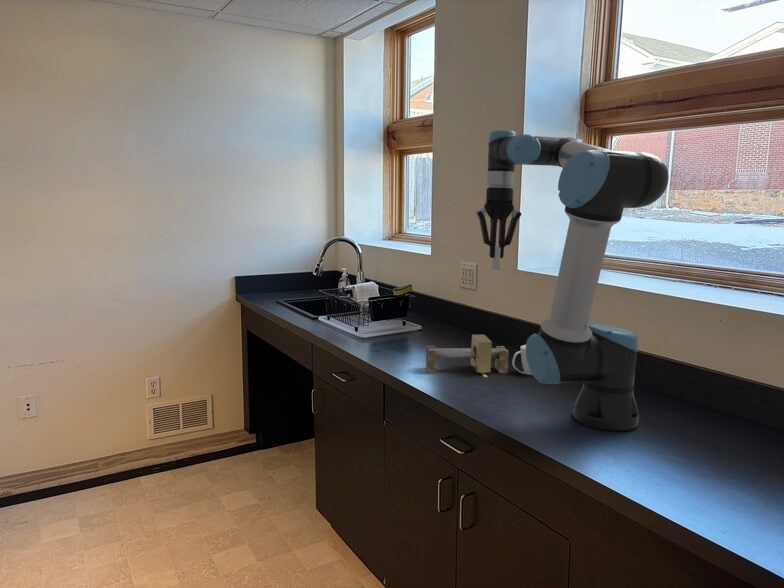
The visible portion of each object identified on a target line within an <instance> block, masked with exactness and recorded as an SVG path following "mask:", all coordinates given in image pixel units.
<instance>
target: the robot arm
mask: <svg viewBox="0 0 784 588" xmlns="http://www.w3.org/2000/svg"><path fill="white" fill-rule="evenodd" d="M487 145H488V146H487V147H488V154H487V178H486V180H487V181H486V186H488V187H487V188H486V197H485V204H484V205H483V208H482V209H480V210H477V211H476V213H475V214H476V216H477V218H478V220H479V225H480V231H481V236H482V241H483V244H484V245H487V246H489V255H488V256H489V258H491V259H492V262H491V263H492V266H491V269H492V270H494V271H500V268H501V267H500V265H501V259H503V258H504V255H505V254H504V252H505V247H506V246H510V245H511V243H512V240H513V237H514V234H515V231H516V227H517V223H518V220H519V219H520V218H521V216H522V212H520V211H518V210H517V209H515V206H514V204H513V203H514V202H513V201H514V189H513V187H514V184H515V170H516V169H515V167H516V166H517V165H518V166H519V165H521V166H522V165H524V166H526V165H527V166H552V167H559V168H562V169H561V172H560V175H559V178H558V181H557V182H558V184H557V190H558V191H559V192H558V198H559V200H560V203H561V204H563V206H564V207H565V208H564V213H565V215H567V217H568V219H569V223H568V228H567V233H566V238H565V241H564V246H563V251H562V256H561V260H560V265H559V270H558V275H557V280H556V283H555V289H554V293H553V297H552V303H551V307H550V313H549V316H548V318H547V317H546V319H544V320H543V321H541V324H540V328H539V332H538V333H533V334H531V335H530V336H528V338H527V339H526V344H525V345H526V358H527V362H528V365H529V368H530V371H531V373H532V374H533V375H532V376H533V377H534V379H536V381H537V382H539V383H541V384H547V385H549V384H554V385H559V384H566V383H567V384H568V383H580V382H582V386H581V387H582V388H581V390H580V392H579V394H578V396H577V398H576V400H575V403H574V405H573V411H572V412H573V413H572V416H573V418H574V419H575V420H576V421H577V422H578V423H580V424H582V425H584V426H587V427H589V428H593V429H597V430H603V431H610V432H614V431H615V432H626V431H631V430H634V429H636V428H637V427H638V425H639V418H640V415H639V410H638V406H637V402H636V399H635V395H634V388H635V377H636V366H637V358H638V352H639V349H638V344H639V343H638V342H639V340H638V336H637V335H636V333H634V332H632V331H631V330H627V329H625V328H620V327H616V326H613V325H606V324H599V323H591V324H589V320H590V318H591V317H590V316H591V312H592V308H593V304H594V300H595V296H596V293H597V288H598V287H597V286H598V284H599V279H600V274H601V270H602V267H603V262H604V260H605V254H606V250H607V246H608V242H609V238H610V237H609V236H610V234H611V229H612V227H613V226H614V225H616V224H618V223H620V222H621V220H622V216H623V213H624V209H638V208H643V207H647V206H649V205H652V204H654V203H655V202H656V201H658V200H659V199H660V198H661V196H663V194H664V193H665V191H666V189H667V187H668V185H669V178H670V177H669V175H670V174H669V170H668V167H667V165H666V163H665V162H664V160H662V159H661V158H659V157H658V156H656V155H655V154H652V153H648V152H643V151H623V150H611V149H607V148H604V147H601V146H597V145H593V144H589V143H586V142H584V141H583V140H582V139H580V138H574V137H570V136H569V137H554V136H553V137H551V136H538V135H537V136H535V135H532V134H529V133H527V134H524V133H520V134H518V135H517V133H516V132H515V131H514V130H509V129H507V130H506V129H504V130H503V129H499V130H493V131H491V132H490V133H489V138H488V144H487ZM486 214H487V215H488V217H489V219H490V230H489V231H488V225H487V219H486ZM509 216H510V217H511V219H510V222H509V225H508V228H507V232H506V225H507V219H508V218H509ZM498 225H499V227H498ZM497 227H498V229H497ZM497 230H498V246H496V245H497Z"/></svg>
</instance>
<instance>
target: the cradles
mask: <svg viewBox="0 0 784 588" xmlns="http://www.w3.org/2000/svg"><path fill="white" fill-rule="evenodd" d="M428 348H436V347H435V345H431V346H429V345H427V346H426V356H425V369H426V371H427V373H428V374H433V375H434V374H437V371H438V369H437V368H438V367H437V365H438V358H437V350H429V354H428ZM495 348H506V346H504V345H501V346H499V345H497V346H495ZM494 359H495V360H494V362H495V363H494V368H495V370H496V371H497V372H498V373H499V374H508V372H509V371H508V370H509V350H508V349H506V350H500V356H499V358H494Z"/></svg>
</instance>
